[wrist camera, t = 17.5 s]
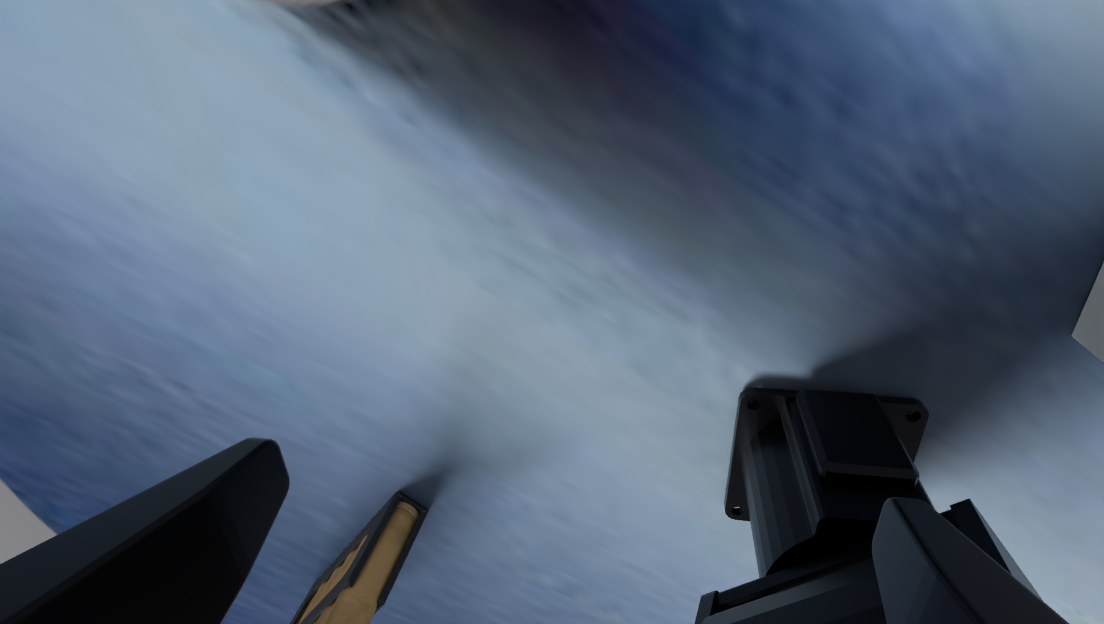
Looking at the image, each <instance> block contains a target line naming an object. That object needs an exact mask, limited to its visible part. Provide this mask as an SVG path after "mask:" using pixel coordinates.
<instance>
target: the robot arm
mask: <svg viewBox="0 0 1104 624" xmlns="http://www.w3.org/2000/svg"><path fill="white" fill-rule="evenodd" d="M752 399H756V400H758V402H757V403H755V404H750V403H748V401H750V400H752ZM914 410H916V412H915V413H914V414H912V415H906V414H907V413H908V412H910V411H914ZM928 415H929V413H928V411H927V409H926V407H925V406H924V404H923V403H922V402H921V401H920V400H918V399H914V398H901V397H886V396H875V395H873V394H863V393H848V392H833V391H818V390H802V391H796V390H781V389H766V388H748V389H746V390H744V391H743V392H741V393H740V396H739V400H738V407H737V414H736V421H735V428H734V436H733V443H732V450H731V457H730V465H729V472H728V479H727V486H726V494H725V501H724V505H725V513H726V515H727V516H728V517H730V518H731V519H735V520H743V521H751V528H752V534H753V540H754V546H755V552H756V558H757V565H758V571H759V577H760V578H759V579H756V580H753V581H751V582H748V583H745V584H742V585H739V586H737V587H734V588H731V589H728V590H726V591H723V592H720V593H719V592H718V591H713V592H710V593H707V594H705V595H702V596H701V600H700V604H699V608H698V612H697V616H696V620H695V624H1069V623H1068V622H1067V621H1066V620H1064V619H1063V618H1062V617H1061V616H1060V615H1058V614H1057V613H1056V612H1055V611H1054V610H1053V609H1051V608H1050V607H1049V606H1048V605H1047V604H1045V603H1044V602H1043V600H1042V599H1041V597H1040V596H1039V595H1038V593H1037V592H1036V590H1035V589H1034V588H1033V586H1032V585H1031V583H1030V582H1029V581H1028V579H1027V578H1026V576H1025V575H1024V574H1023V572H1022V571H1021V569H1020V568H1019V567H1018V565H1017V564H1016V562H1015V561H1014V560H1013V558H1012V557H1011V555H1010V554H1009V553H1008V551H1007V550H1006V548H1005V547H1004V546H1003V544H1002V543H1001V542H1000V540H999V539H998V537H997V536H996V535H995V533H994V532H993V530H992V529H991V528H990V526H989V525H988V523H987V522H986V521H985V519H984V518H983V516H982V515H981V514H980V512H979V511H978V509H977V508H976V507H975V505H974V504H973V502H972V501H971V500H970V499H966V500H964V501H961V502H958V503H955V504H953V505H950V507H951V510H948V511H945V512H942V513H938V512H937V511H936V510H935V508H934V506H933V505H932V503H931V501H930V499H929V497H928V495H927V493H926V491H925V489H924V488H923V486H922V484H921V482H920V480H919V472H918V471H917V469H916V467H915V465H914V463H913V462H914V459H915V456H916V453H917V450H918V447H919V444H920V441H921V438H922V435H923V432H924V429H925V426H926V423H927V420H928ZM289 483H290V482H289V475H288V472H287V469H286V466H285V462H284V459H283V456H282V453H281V450H280V447H279V445H278V443H277V442H276V441H275V440H272V439H265V438H247V439H245V440H243V441H241V442H239V443H237V444H235V445H233V446H231V447H229V448H227V449H225V450H223V451H221V452H219V453H217V454H215V455H213V456H211V457H210V458H208V459H206V460H204V461H202V462H200V463H198V464H196V465H194V466H192V467H190V468H188V469H186V470H184V471H182V472H180V473H178V474H176V475H174V476H172V477H170V478H168V479H166V480H164V481H162V482H161V483H159V484H157V485H155V486H153V487H151V488H149V489H147V490H145V491H143V492H141V493H139V494H137V495H135V496H133V497H131V498H129V499H127V500H125V501H123V502H121V503H119V504H117V505H115V506H113V507H111V508H110V509H108V510H106V511H104V512H102V513H100V514H98V515H96V516H94V517H92V518H90V519H88V520H86V521H84V522H82V523H80V524H78V525H76V526H74V527H72V528H70V529H68V530H66V531H64V532H62V533H61V534H59V535H57V536H55V537H53V538H51V539H49V540H47V541H45V542H43V543H41V544H39V545H37V546H35V547H33V548H31V549H29V550H27V551H25V552H23V553H21V554H19V555H17V556H16V557H14V558H11V559H10V560H8V561H6V562H4V563H2V564H0V624H221V622H222V620H223V619H224V617H225V615H226V613H227V612H228V610H229V608H230V607H231V605H232V603H233V602H234V600H235V598H236V597H237V595H238V593H239V591H240V590H241V588H242V586H243V584H244V582H245V580H246V578H247V576H248V575H249V573H250V571H251V569H252V567H253V565H254V562H255V560H256V558H257V556H258V554H259V552H260V550H261V548H262V546H263V544H264V541H265V539H266V537H267V535H268V533H269V531H270V529H271V527H272V525H273V522H274V520H275V518H276V516H277V514H278V512H279V510H280V508H281V506H282V504H283V501H284V499H285V497H286V495H287V492H288V489H289ZM734 507H740V508H734Z"/></svg>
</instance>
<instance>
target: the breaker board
mask: <svg viewBox="0 0 1104 624" xmlns="http://www.w3.org/2000/svg"><path fill="white" fill-rule="evenodd" d="M1071 336H1072V337H1073V338H1074V339H1075V340H1077V341H1078V342H1079V343H1080V344H1081V345H1083V346H1084V347H1085V348H1086V349H1087V350H1089V351H1090V352H1091V353H1092V354H1093V355H1095V356H1096V357H1097V358H1098V359H1100V360H1101V361H1102V362H1103V363H1104V262H1103V264H1102V267H1101V269H1100V271H1099V274H1098V276H1097V278H1096V280H1095V283H1094V285H1093V287H1092V290H1091V292H1090V294H1089V297H1088V299H1087V301H1086V303H1085V306H1084V308H1083V310H1082V313H1081V315H1080V317H1079V319H1078V322H1077V324H1076V326H1075V329H1074V331H1073V333H1072V335H1071Z"/></svg>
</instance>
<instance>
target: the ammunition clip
mask: <svg viewBox="0 0 1104 624" xmlns="http://www.w3.org/2000/svg"><path fill="white" fill-rule="evenodd" d="M427 513H428V511H427V510H425V509H424V508H422V507H421V506H419V505H417V504H416V503H414V502H413V501H411V500H410V499H408V498H407V497H405V496H404V495H402V494H400V493H398V492H396V493H395V494H394V495H393V496H392V497H391V498H390V500H389V501H388V502H387V503H386V504H385V505H384V506H383V507H382V509H381V510H380V511H379V512H378V513H377V514H376V515H375V516H374V517H373V519H372V520H371V521H370V522H369V523H368V524H367V525H366V526H365V528H364V529H363V530H362V531H361V532H360V533H359V534H358V535H357V537H356V538H355V539H354V540H353V541H352V542H351V543H350V544H349V546H348V547H347V548H346V549H345V550H344V551H343V552H342V553H341V554H340V556H339V557H338V558H337V559H336V560H335V561H334V562H333V563H332V565H331V566H330V567H329V568H328V569H327V570H326V571H325V572H324V574H323V575H322V576H321V577H320V578H319V579H318V580H317V581H316V583H315V584H314V585H313V586H312V588H311V589H310V591H309V593H308V594H307V596H306V598H305V599H304V601H303V603H302V604H301V606H300V608H299V609H298V611H297V613H296V614H295V616H294V618H293V619H292V621H291V623H290V624H369V623H370V621H371V619H372V617H373V615H374V614H375V613H376V612H377V611H378V610H379V609H380V608H381V607H382V606H383V605H384V604H385V602H386V599H387V597H388V595H389V593H390V591H391V589H392V587H393V585H394V583H395V580H396V578H397V576H398V574H399V572H400V570H401V568H402V566H403V564H404V561H405V559H406V557H407V555H408V553H409V551H410V549H411V547H412V545H413V542H414V540H415V538H416V536H417V534H418V532H419V530H420V528H421V526H422V523H423V521H424V519H425V517H426V515H427Z"/></svg>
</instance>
